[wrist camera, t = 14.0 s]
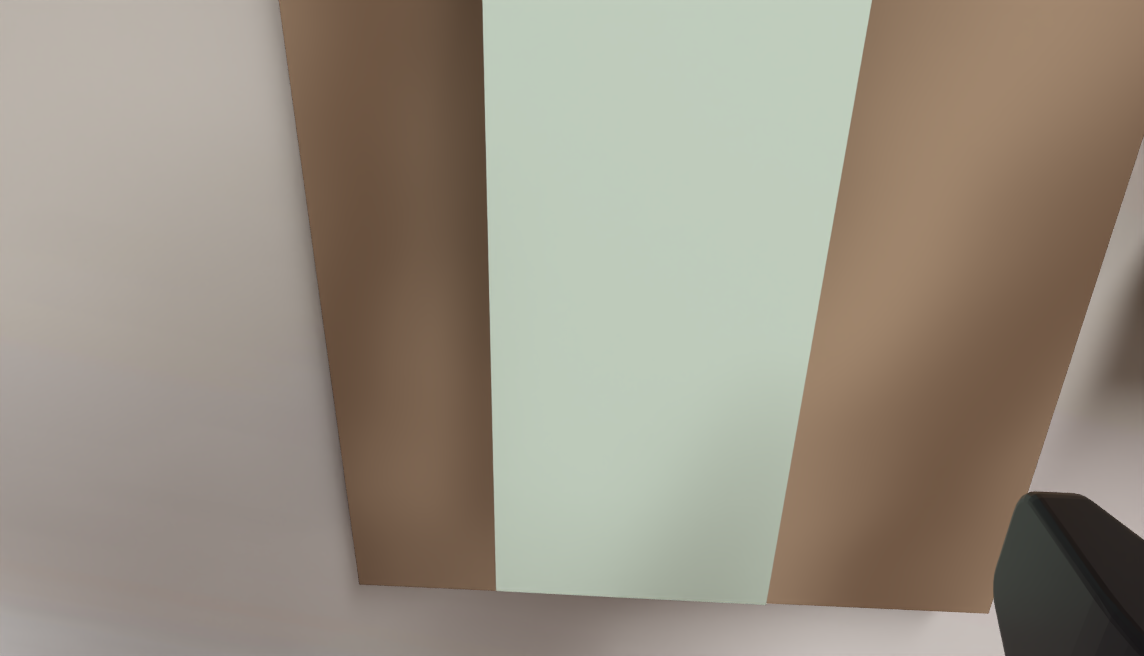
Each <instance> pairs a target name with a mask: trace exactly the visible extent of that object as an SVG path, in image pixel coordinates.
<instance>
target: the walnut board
mask: <svg viewBox="0 0 1144 656" xmlns="http://www.w3.org/2000/svg"><path fill="white" fill-rule="evenodd" d="M279 6H280V13H281V20H282V27H283V35H284V42H285V49H286V56H287V64H288V71H289V78H290V85H291V93H292V100H293V107H294V114H295V122H296V129H297V136H298V143H299V151H300V158H301V165H302V172H303V180H304V187H305V194H306V201H307V209H308V216H309V223H310V230H311V238H312V245H313V252H314V259H315V266H316V274H317V281H318V288H319V295H320V303H321V310H322V317H323V324H324V332H325V339H326V346H327V353H328V361H329V368H330V375H331V382H332V390H333V397H334V404H335V411H336V419H337V426H338V433H339V440H340V448H341V455H342V462H343V469H344V477H345V484H346V491H347V498H348V506H349V513H350V520H351V527H352V535H353V542H354V549H355V556H356V563H357V571H358V578H359V584H362V585H384V586H405V587H427V588H448V589H470V590H491V591H496V561H495V518H494V475H493V432H492V389H491V346H490V303H489V261H488V218H487V175H486V132H485V89H484V46H483V3H482V0H279ZM1143 136H1144V0H872V3H871V9H870V14H869V20H868V26H867V32H866V37H865V43H864V49H863V54H862V60H861V66H860V71H859V77H858V83H857V89H856V94H855V100H854V106H853V111H852V117H851V123H850V128H849V134H848V140H847V146H846V151H845V157H844V163H843V168H842V174H841V180H840V186H839V191H838V197H837V203H836V208H835V214H834V220H833V225H832V231H831V237H830V243H829V248H828V254H827V260H826V265H825V271H824V277H823V282H822V288H821V294H820V300H819V305H818V311H817V317H816V322H815V328H814V334H813V340H812V345H811V351H810V357H809V362H808V368H807V374H806V379H805V385H804V391H803V397H802V402H801V408H800V414H799V419H798V425H797V431H796V436H795V442H794V448H793V454H792V459H791V465H790V471H789V476H788V482H787V488H786V494H785V499H784V505H783V511H782V516H781V522H780V528H779V533H778V539H777V545H776V551H775V556H774V562H773V568H772V573H771V579H770V585H769V590H768V596H767V602H766V603H772V604H793V605H815V606H836V607H858V608H879V609H901V610H923V611H944V612H966V613H987V614H988V613H989V610H990V607H991V604H992V601H993V598H994V596H993V580H994V573H995V569H996V565H997V562H998V559H999V556H1000V553H1001V549H1002V546H1003V543H1004V540H1005V537H1006V534H1007V531H1008V527H1009V524H1010V521H1011V518H1012V515H1013V512H1014V509H1015V506H1016V504H1017V502H1018V501H1019V499H1020V498H1021V497H1022V496H1023V495H1025V494H1027V493H1028V490H1029V487H1030V484H1031V481H1032V478H1033V475H1034V472H1035V469H1036V466H1037V462H1038V459H1039V456H1040V453H1041V450H1042V447H1043V444H1044V441H1045V438H1046V435H1047V432H1048V429H1049V426H1050V422H1051V419H1052V416H1053V413H1054V410H1055V407H1056V404H1057V401H1058V398H1059V395H1060V392H1061V389H1062V385H1063V382H1064V379H1065V376H1066V373H1067V370H1068V367H1069V364H1070V361H1071V358H1072V355H1073V352H1074V349H1075V345H1076V342H1077V339H1078V336H1079V333H1080V330H1081V327H1082V324H1083V321H1084V318H1085V315H1086V312H1087V309H1088V305H1089V302H1090V299H1091V296H1092V293H1093V290H1094V287H1095V284H1096V281H1097V278H1098V275H1099V272H1100V269H1101V265H1102V262H1103V259H1104V256H1105V253H1106V250H1107V247H1108V244H1109V241H1110V238H1111V235H1112V232H1113V229H1114V225H1115V222H1116V219H1117V216H1118V213H1119V210H1120V207H1121V204H1122V201H1123V198H1124V195H1125V192H1126V189H1127V185H1128V182H1129V179H1130V176H1131V173H1132V170H1133V167H1134V164H1135V161H1136V158H1137V155H1138V152H1139V149H1140V145H1141V142H1142V139H1143Z"/></svg>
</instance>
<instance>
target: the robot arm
mask: <svg viewBox="0 0 1144 656" xmlns="http://www.w3.org/2000/svg"><path fill="white" fill-rule="evenodd" d="M993 596H994V604H995V609H996V614H997V619H998V624H999V628H1000V633H1001V638H1002V643H1003V648H1004V652H1005V656H1144V540H1143V539H1142V538H1141V537H1139V536H1138V535H1137V534H1135V533H1134V532H1133V531H1131V530H1130V529H1129V528H1127V527H1126V526H1125V525H1123V524H1122V523H1121V522H1119V521H1118V520H1117V519H1115V518H1114V517H1113V516H1111V515H1110V514H1109V513H1107V512H1106V511H1105V510H1103V509H1102V508H1101V507H1100V506H1098V505H1097V504H1096V503H1094V502H1093V501H1091V500H1090V499H1088V498H1087V497H1085V496H1083V495H1080V494H1075V493H1057V492H1029V493H1027V494H1025V495H1023V496H1022V497H1021V498H1020V499H1019V501H1018V502H1017V504H1016V506H1015V509H1014V512H1013V515H1012V518H1011V521H1010V524H1009V527H1008V531H1007V534H1006V537H1005V540H1004V543H1003V546H1002V549H1001V553H1000V556H999V559H998V562H997V565H996V569H995V573H994V580H993Z"/></svg>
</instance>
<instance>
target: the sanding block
mask: <svg viewBox="0 0 1144 656" xmlns="http://www.w3.org/2000/svg"><path fill="white" fill-rule="evenodd" d="M482 3H483V46H484V89H485V132H486V175H487V218H488V261H489V303H490V346H491V389H492V432H493V475H494V518H495V561H496V591H506V592H526V593H545V594H564V595H583V596H602V597H621V598H640V599H659V600H678V601H698V602H717V603H736V604H755V605H766V602H767V596H768V590H769V585H770V579H771V573H772V568H773V562H774V556H775V551H776V545H777V539H778V533H779V528H780V522H781V516H782V511H783V505H784V499H785V494H786V488H787V482H788V476H789V471H790V465H791V459H792V454H793V448H794V442H795V436H796V431H797V425H798V419H799V414H800V408H801V402H802V397H803V391H804V385H805V379H806V374H807V368H808V362H809V357H810V351H811V345H812V340H813V334H814V328H815V322H816V317H817V311H818V305H819V300H820V294H821V288H822V282H823V277H824V271H825V265H826V260H827V254H828V248H829V243H830V237H831V231H832V225H833V220H834V214H835V208H836V203H837V197H838V191H839V186H840V180H841V174H842V168H843V163H844V157H845V151H846V146H847V140H848V134H849V128H850V123H851V117H852V111H853V106H854V100H855V94H856V89H857V83H858V77H859V71H860V66H861V60H862V54H863V49H864V43H865V37H866V32H867V26H868V20H869V14H870V9H871V3H872V0H482Z"/></svg>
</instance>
